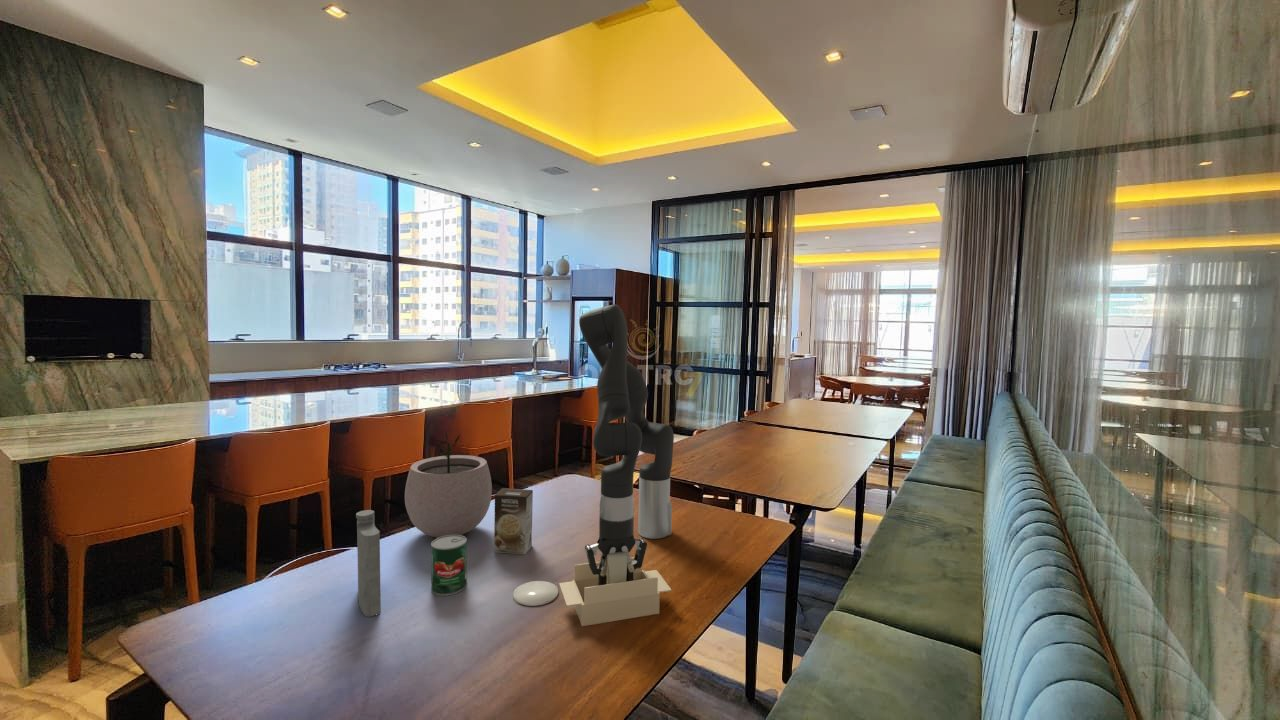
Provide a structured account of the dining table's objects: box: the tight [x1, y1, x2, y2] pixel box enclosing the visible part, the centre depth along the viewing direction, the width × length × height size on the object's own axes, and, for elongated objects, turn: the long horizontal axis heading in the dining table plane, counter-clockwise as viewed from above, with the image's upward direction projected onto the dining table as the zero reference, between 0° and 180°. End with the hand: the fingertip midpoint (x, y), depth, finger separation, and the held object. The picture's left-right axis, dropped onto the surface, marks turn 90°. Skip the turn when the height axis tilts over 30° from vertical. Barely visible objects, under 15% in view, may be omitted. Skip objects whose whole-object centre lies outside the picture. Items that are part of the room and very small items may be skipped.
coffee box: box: [493, 487, 534, 555], centre depth 142 cm, size 9×6×16 cm
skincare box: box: [606, 552, 627, 584], centre depth 114 cm, size 6×4×12 cm
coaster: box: [513, 580, 559, 607], centre depth 119 cm, size 10×10×1 cm
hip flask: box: [355, 509, 382, 617], centre depth 115 cm, size 16×4×20 cm, turn 31°
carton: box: [558, 556, 672, 627], centre depth 114 cm, size 23×11×8 cm, turn 108°
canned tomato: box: [430, 535, 468, 596], centre depth 121 cm, size 8×8×11 cm
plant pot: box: [404, 432, 493, 538], centre depth 152 cm, size 24×24×30 cm
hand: (615, 588), depth 115 cm, fingers closed on skincare box, 5 cm apart
